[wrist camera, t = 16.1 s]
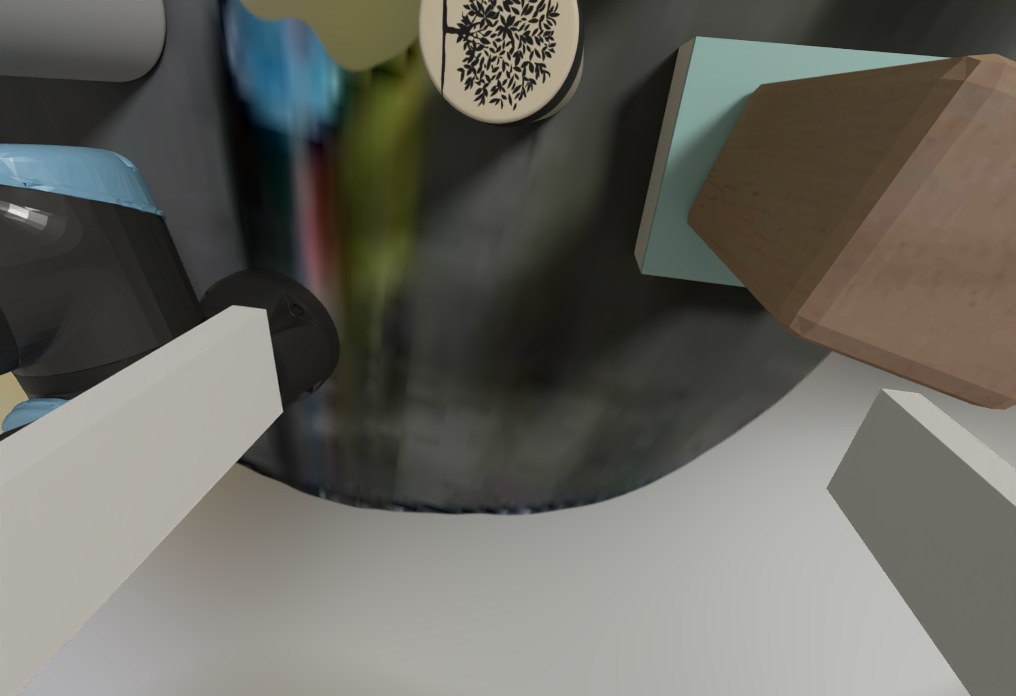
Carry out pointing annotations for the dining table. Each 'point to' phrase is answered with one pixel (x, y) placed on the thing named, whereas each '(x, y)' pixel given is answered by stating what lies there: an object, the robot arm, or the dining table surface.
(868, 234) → the wooden block
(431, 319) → the dining table surface
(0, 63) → the cylinder vase
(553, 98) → the travel mug
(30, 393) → the robot arm
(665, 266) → the base brick
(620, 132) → the dining table surface
